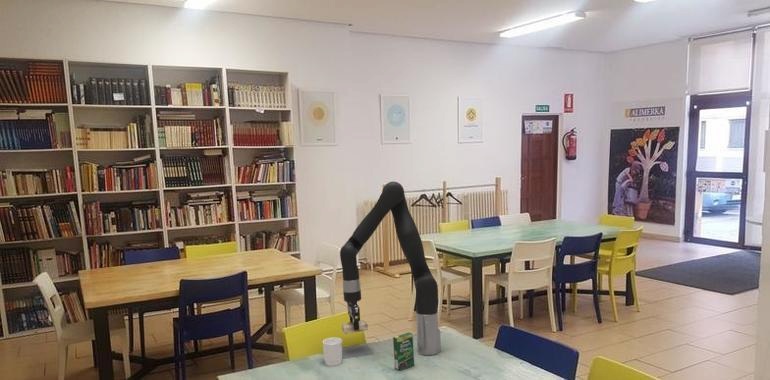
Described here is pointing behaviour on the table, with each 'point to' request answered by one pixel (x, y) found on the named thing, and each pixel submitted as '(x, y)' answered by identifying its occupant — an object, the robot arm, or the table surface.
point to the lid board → (350, 327)
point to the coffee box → (403, 351)
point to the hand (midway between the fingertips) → (354, 327)
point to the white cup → (332, 351)
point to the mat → (356, 351)
